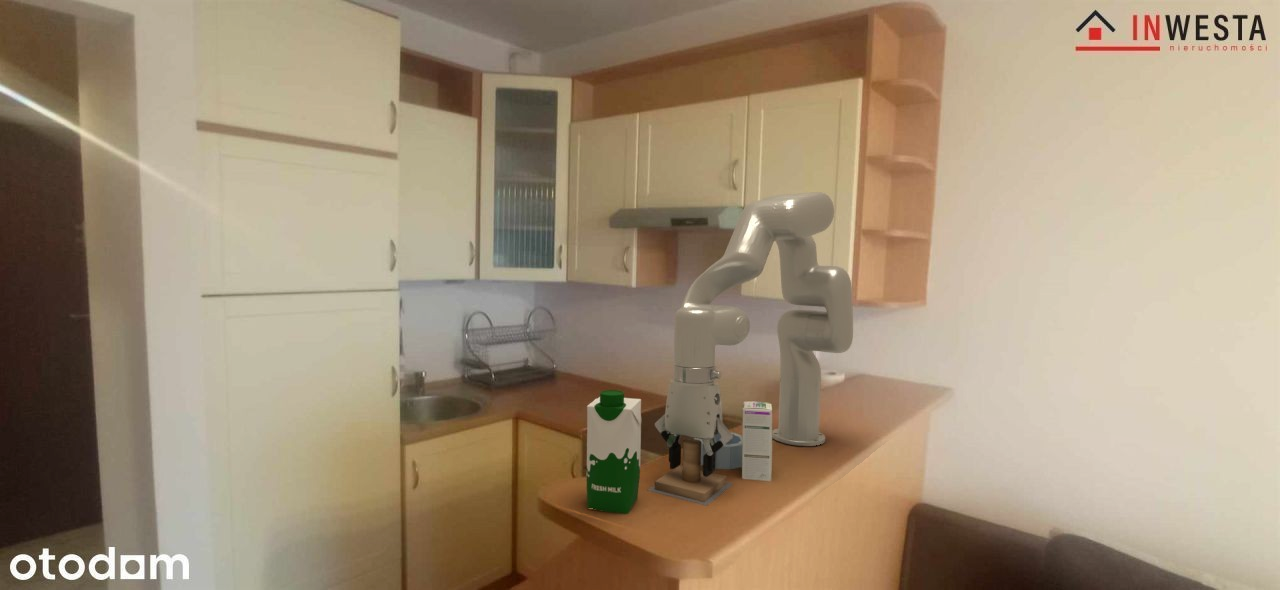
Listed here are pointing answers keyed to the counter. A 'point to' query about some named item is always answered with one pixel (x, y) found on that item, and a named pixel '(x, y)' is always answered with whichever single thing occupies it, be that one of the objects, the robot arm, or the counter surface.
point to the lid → (691, 476)
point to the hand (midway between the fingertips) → (691, 469)
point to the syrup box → (757, 441)
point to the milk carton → (613, 452)
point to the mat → (693, 499)
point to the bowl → (727, 453)
